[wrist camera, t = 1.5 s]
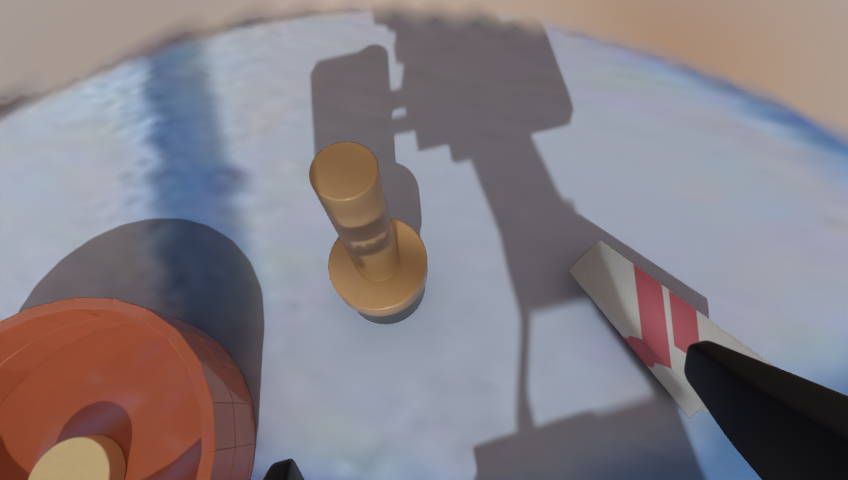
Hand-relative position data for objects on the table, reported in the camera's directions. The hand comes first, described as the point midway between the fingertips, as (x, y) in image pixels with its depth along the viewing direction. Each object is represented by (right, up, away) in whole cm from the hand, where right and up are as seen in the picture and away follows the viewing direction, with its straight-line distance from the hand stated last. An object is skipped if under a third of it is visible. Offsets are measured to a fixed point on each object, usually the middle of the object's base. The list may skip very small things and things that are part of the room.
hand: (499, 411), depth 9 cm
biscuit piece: (-19, -8, +12) cm, 24 cm away
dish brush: (-4, +1, +16) cm, 16 cm away
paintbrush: (+14, -5, +13) cm, 20 cm away
